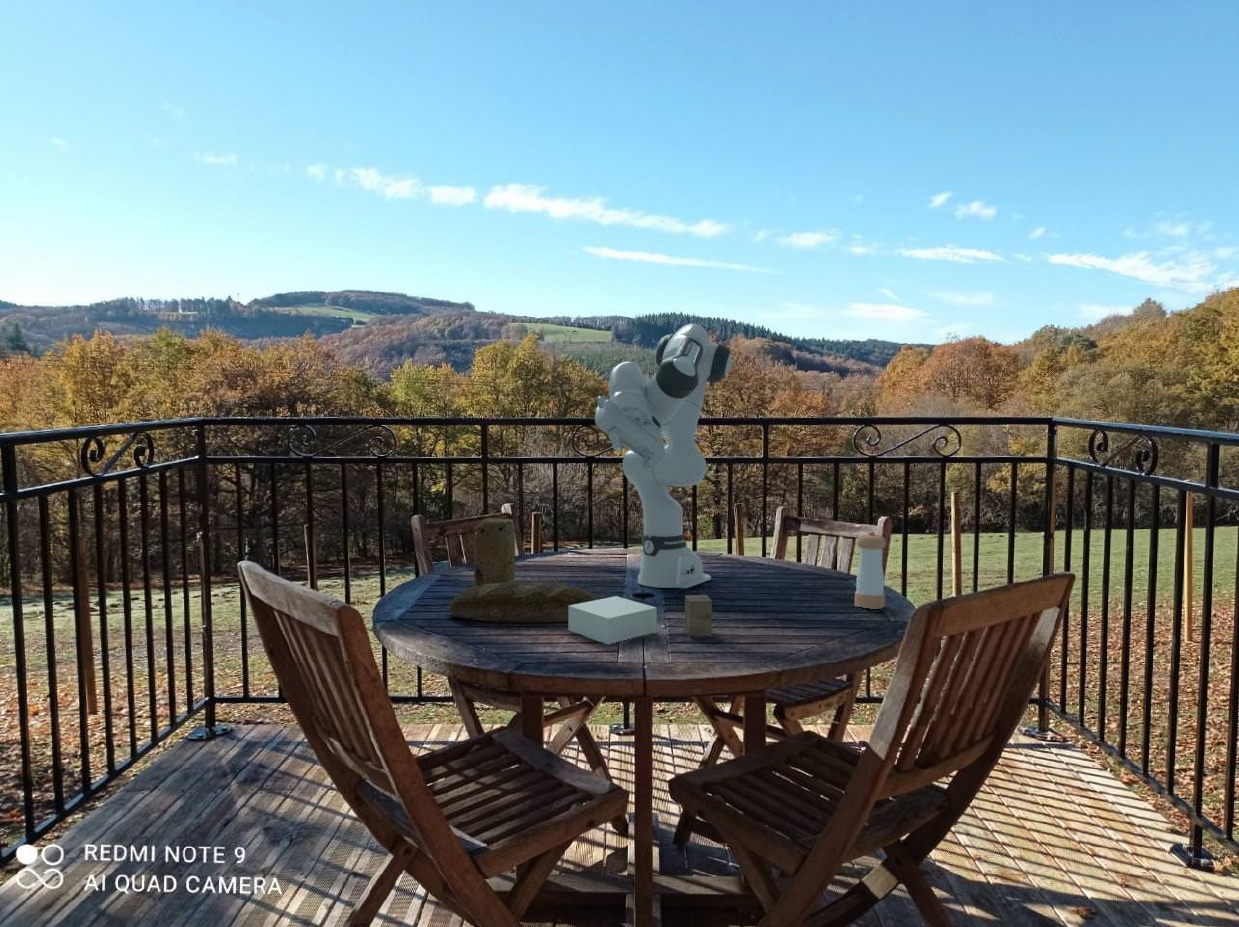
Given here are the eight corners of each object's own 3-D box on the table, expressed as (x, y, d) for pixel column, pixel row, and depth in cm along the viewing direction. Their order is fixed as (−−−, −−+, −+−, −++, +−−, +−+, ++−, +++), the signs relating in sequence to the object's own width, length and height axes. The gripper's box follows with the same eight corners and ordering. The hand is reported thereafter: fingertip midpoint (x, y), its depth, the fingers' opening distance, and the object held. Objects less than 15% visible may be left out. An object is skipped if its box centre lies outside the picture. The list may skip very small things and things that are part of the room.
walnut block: (684, 630, 177) (685, 595, 177) (706, 630, 178) (707, 595, 177) (688, 637, 172) (689, 601, 172) (711, 636, 173) (711, 600, 172)
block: (517, 590, 216) (516, 517, 215) (510, 596, 209) (509, 521, 207) (478, 588, 217) (478, 517, 216) (470, 595, 210) (469, 520, 208)
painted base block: (616, 621, 186) (616, 596, 186) (656, 634, 175) (656, 607, 175) (568, 632, 177) (568, 605, 176) (608, 646, 166) (608, 618, 166)
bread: (458, 607, 198) (458, 574, 197) (603, 609, 197) (603, 575, 196) (443, 624, 182) (442, 588, 182) (599, 626, 181) (599, 590, 181)
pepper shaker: (886, 611, 195) (888, 534, 194) (855, 609, 196) (857, 533, 195) (882, 603, 202) (884, 529, 201) (853, 602, 203) (855, 528, 202)
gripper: (607, 384, 176) (610, 428, 167) (667, 429, 188) (672, 472, 178) (588, 399, 179) (589, 443, 170) (647, 442, 191) (651, 486, 181)
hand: (632, 458), depth 174 cm, fingers open, 8 cm apart
